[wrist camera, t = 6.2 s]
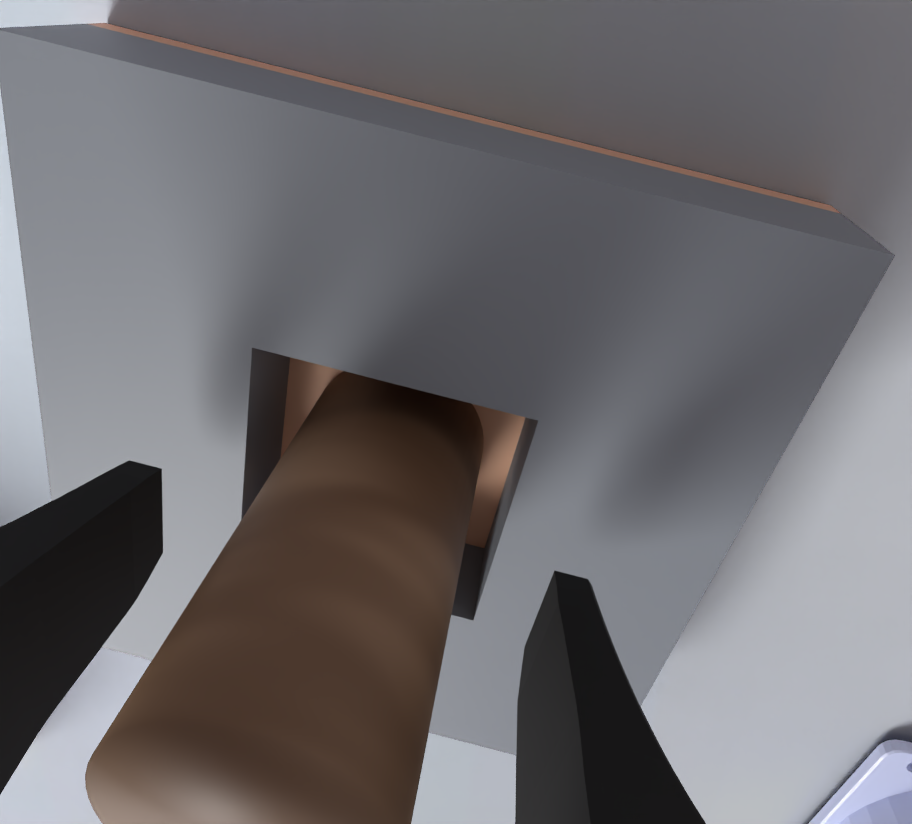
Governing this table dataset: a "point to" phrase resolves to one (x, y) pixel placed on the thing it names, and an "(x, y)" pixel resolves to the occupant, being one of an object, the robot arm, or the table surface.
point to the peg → (310, 630)
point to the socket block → (413, 326)
